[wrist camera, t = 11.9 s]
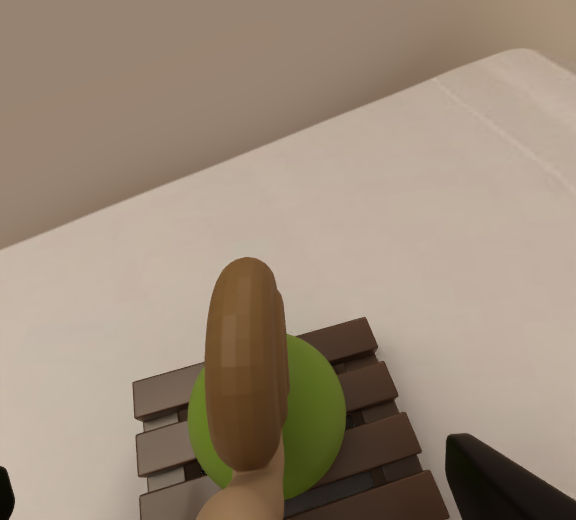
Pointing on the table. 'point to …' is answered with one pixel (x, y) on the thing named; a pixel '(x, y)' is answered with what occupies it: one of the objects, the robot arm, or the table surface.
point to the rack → (349, 461)
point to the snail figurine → (260, 401)
